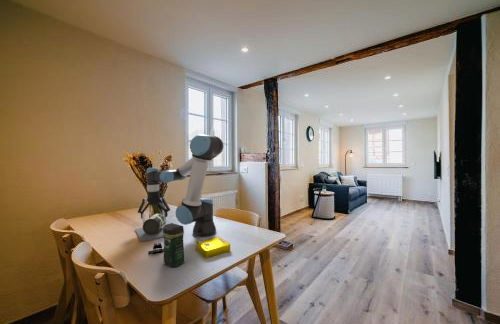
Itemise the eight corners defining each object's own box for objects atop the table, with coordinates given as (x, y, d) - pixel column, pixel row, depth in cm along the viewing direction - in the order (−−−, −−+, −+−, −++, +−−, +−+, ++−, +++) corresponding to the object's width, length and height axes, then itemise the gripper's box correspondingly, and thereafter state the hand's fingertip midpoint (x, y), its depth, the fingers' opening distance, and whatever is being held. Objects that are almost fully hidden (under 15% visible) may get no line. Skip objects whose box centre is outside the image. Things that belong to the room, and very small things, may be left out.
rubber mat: (174, 234, 143) (174, 233, 143) (140, 241, 132) (140, 240, 132) (165, 225, 165) (165, 223, 165) (135, 230, 154) (135, 229, 154)
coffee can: (167, 215, 156) (161, 221, 142) (162, 229, 156) (156, 236, 142) (152, 211, 155) (145, 217, 141) (148, 225, 155) (140, 232, 141)
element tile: (231, 252, 117) (231, 243, 117) (205, 260, 108) (205, 250, 108) (219, 243, 129) (218, 235, 129) (194, 249, 121) (194, 241, 121)
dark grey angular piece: (169, 248, 124) (169, 240, 124) (170, 253, 117) (170, 244, 117) (145, 252, 119) (145, 243, 119) (144, 257, 112) (144, 248, 112)
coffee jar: (187, 262, 105) (186, 224, 105) (172, 269, 99) (171, 228, 98) (175, 257, 111) (174, 220, 110) (160, 263, 105) (159, 224, 104)
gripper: (173, 189, 153) (175, 219, 153) (136, 190, 150) (137, 222, 150) (171, 190, 145) (172, 222, 146) (131, 192, 143) (132, 225, 143)
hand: (154, 222), depth 148 cm, fingers open, 13 cm apart
